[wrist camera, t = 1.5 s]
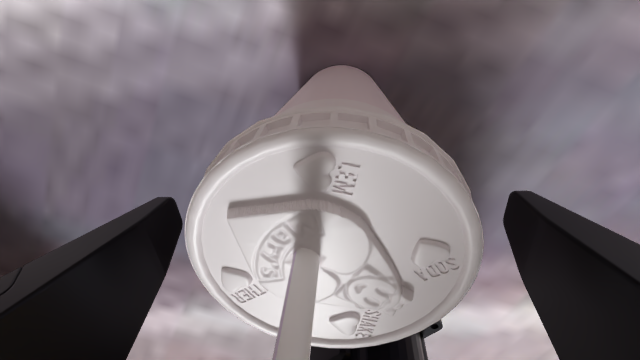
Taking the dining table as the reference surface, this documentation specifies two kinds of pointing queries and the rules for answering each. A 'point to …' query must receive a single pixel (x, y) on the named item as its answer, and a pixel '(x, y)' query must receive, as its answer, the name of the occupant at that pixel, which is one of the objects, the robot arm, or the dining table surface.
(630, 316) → the robot arm
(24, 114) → the dining table surface
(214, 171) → the smoothie
